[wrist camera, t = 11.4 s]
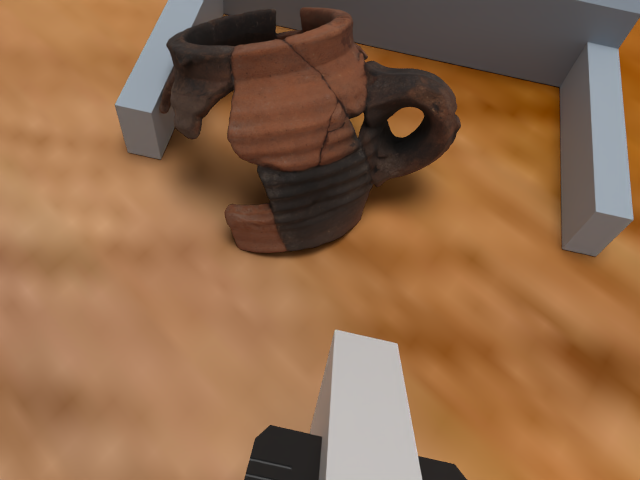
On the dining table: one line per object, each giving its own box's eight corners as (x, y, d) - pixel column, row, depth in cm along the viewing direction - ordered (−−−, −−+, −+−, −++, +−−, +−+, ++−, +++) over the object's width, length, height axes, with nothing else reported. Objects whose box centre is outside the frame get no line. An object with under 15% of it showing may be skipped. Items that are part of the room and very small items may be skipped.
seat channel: (595, 256, 26) (663, 190, 22) (128, 152, 27) (104, 67, 22) (586, 73, 32) (639, -7, 28) (204, -11, 33) (197, -103, 28)
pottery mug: (163, 269, 25) (103, 67, 20) (222, 169, 32) (188, 8, 28) (467, 261, 23) (470, 36, 18) (451, 156, 31) (451, -18, 26)
